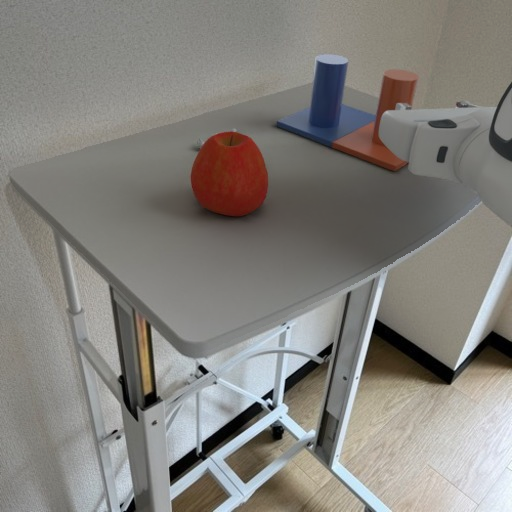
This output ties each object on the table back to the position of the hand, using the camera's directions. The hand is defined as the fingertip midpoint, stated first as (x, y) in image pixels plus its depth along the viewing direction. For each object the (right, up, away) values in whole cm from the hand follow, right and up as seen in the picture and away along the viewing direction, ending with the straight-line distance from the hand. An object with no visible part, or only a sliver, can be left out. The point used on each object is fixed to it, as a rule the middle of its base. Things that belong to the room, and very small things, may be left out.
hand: (430, 106), depth 79 cm
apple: (-29, -15, -4) cm, 33 cm away
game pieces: (-32, -3, +11) cm, 34 cm away
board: (-7, 0, +18) cm, 19 cm away
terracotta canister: (-3, -2, +14) cm, 14 cm away
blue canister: (-13, +2, +19) cm, 23 cm away
